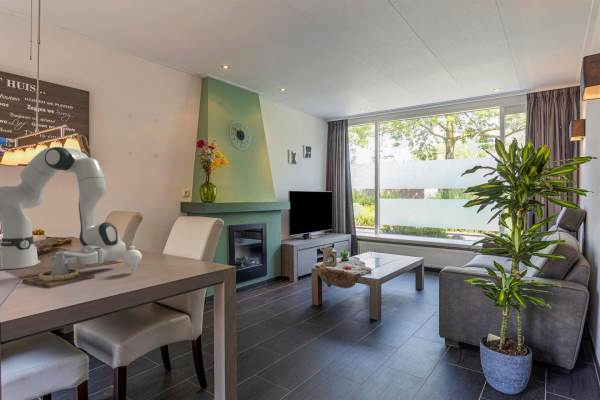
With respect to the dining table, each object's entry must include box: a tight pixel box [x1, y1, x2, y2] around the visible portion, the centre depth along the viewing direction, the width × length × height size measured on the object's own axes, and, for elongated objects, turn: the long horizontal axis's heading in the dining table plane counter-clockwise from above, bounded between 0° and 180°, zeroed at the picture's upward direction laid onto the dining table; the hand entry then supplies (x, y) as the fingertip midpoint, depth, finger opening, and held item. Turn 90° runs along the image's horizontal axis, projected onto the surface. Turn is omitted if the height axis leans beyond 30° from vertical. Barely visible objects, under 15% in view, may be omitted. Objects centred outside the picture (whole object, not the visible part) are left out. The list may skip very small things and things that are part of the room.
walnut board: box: [22, 272, 95, 289], centre depth 140 cm, size 19×17×1 cm
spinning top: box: [122, 245, 143, 274], centre depth 151 cm, size 8×8×12 cm
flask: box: [50, 251, 71, 276], centre depth 140 cm, size 7×7×10 cm
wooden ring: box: [38, 268, 80, 281], centre depth 140 cm, size 13×13×2 cm
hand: (56, 260), depth 139 cm, fingers open, 8 cm apart
